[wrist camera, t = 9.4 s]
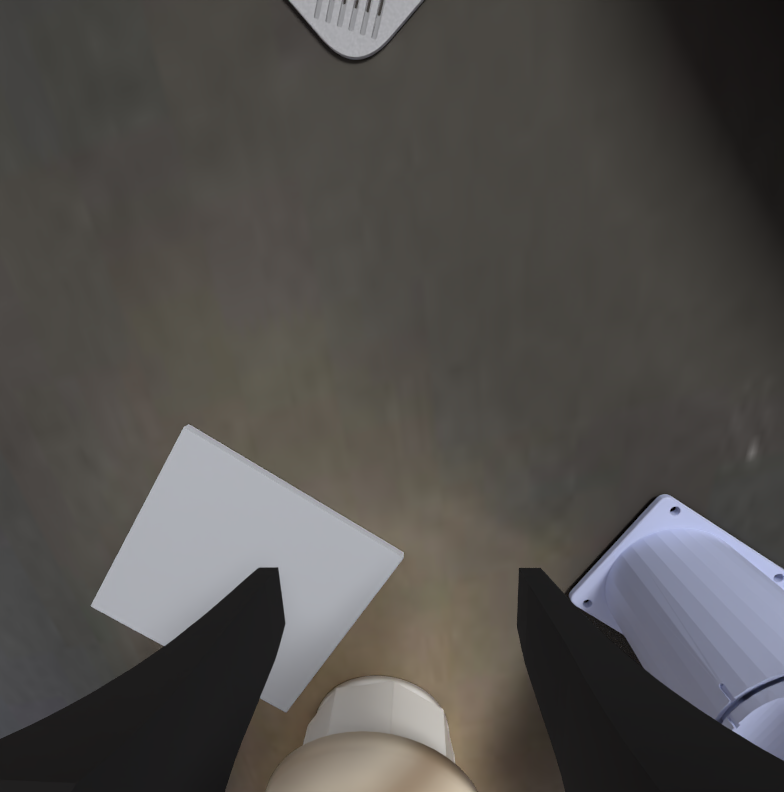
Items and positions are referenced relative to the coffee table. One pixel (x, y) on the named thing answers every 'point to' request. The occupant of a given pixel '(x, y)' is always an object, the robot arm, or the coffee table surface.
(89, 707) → the robot arm
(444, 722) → the bowl
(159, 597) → the mat
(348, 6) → the handheld gaming device
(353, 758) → the lid
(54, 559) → the coffee table surface
